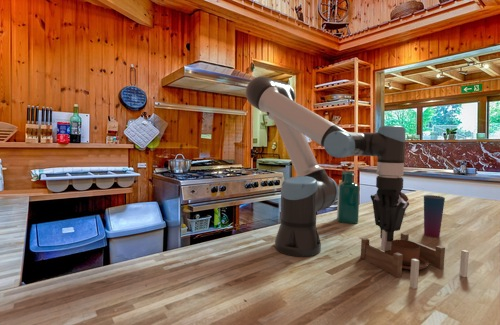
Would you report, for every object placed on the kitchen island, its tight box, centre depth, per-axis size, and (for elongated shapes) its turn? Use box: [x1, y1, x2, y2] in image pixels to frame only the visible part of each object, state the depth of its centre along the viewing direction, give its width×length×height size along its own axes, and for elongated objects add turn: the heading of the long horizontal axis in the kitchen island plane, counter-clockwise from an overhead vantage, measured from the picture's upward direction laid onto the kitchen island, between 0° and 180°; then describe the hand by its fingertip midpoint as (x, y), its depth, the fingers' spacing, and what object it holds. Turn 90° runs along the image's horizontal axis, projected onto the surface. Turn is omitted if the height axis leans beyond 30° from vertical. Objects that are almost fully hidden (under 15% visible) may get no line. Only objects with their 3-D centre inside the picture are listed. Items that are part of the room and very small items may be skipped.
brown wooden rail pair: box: [360, 232, 446, 278], centre depth 85 cm, size 18×14×6 cm
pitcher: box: [336, 170, 361, 224], centre depth 128 cm, size 10×8×22 cm
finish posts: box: [409, 249, 470, 290], centre depth 73 cm, size 19×1×7 cm, turn 110°
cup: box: [423, 194, 446, 238], centre depth 110 cm, size 7×7×15 cm
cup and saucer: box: [384, 239, 430, 271], centre depth 84 cm, size 12×12×6 cm
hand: (386, 250), depth 90 cm, fingers closed
